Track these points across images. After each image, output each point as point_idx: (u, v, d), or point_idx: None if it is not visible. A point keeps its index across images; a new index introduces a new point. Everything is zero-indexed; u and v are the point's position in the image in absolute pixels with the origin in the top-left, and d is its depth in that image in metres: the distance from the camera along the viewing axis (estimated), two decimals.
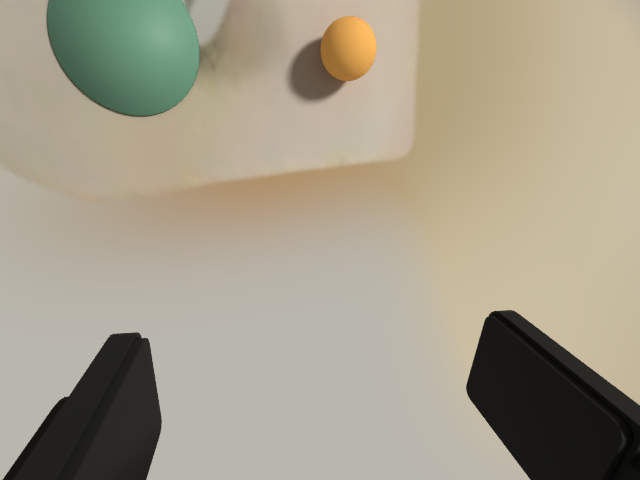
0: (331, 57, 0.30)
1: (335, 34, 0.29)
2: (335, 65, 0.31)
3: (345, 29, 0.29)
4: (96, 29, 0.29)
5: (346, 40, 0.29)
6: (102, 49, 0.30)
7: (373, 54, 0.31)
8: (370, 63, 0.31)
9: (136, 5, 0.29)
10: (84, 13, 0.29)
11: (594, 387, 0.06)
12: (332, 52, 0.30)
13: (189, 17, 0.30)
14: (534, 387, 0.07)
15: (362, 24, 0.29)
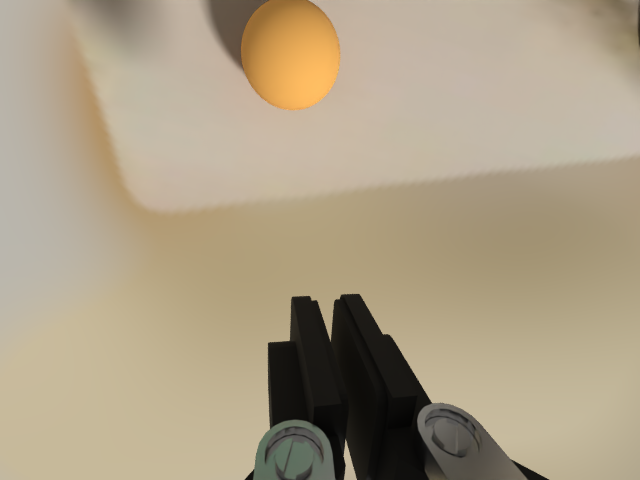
0: (273, 4, 0.16)
1: (311, 10, 0.16)
2: (260, 13, 0.16)
3: (319, 28, 0.16)
4: None
5: (301, 27, 0.15)
6: None
7: (285, 95, 0.17)
8: (270, 92, 0.17)
9: None
10: None
11: (378, 360, 0.07)
12: (281, 4, 0.15)
13: None
14: (349, 364, 0.08)
15: (329, 67, 0.17)
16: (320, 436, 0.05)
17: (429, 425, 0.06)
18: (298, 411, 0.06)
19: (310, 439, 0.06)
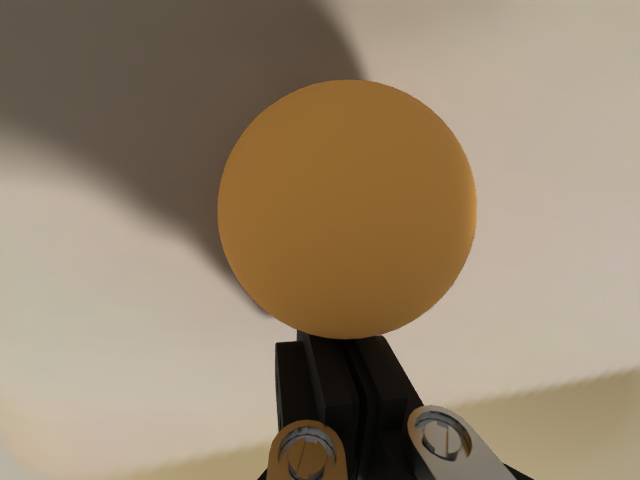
0: (305, 87, 0.06)
1: (408, 95, 0.06)
2: (270, 108, 0.06)
3: (439, 129, 0.05)
4: None
5: (393, 121, 0.05)
6: None
7: (335, 313, 0.05)
8: (289, 303, 0.05)
9: None
10: None
11: (369, 362, 0.07)
12: (328, 83, 0.06)
13: None
14: None
15: (468, 227, 0.05)
16: (332, 436, 0.05)
17: (419, 428, 0.06)
18: (308, 411, 0.06)
19: (322, 439, 0.06)
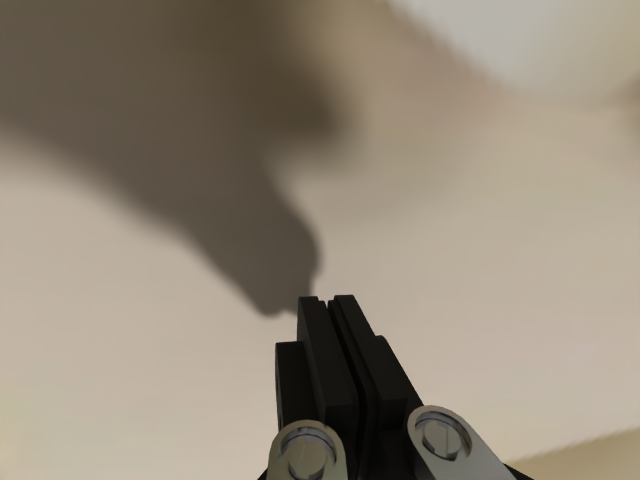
0: None
1: None
2: None
3: None
4: None
5: None
6: None
7: None
8: None
9: None
10: None
11: (369, 362, 0.07)
12: None
13: None
14: None
15: None
16: (332, 436, 0.05)
17: (420, 428, 0.06)
18: (308, 411, 0.06)
19: (322, 439, 0.06)
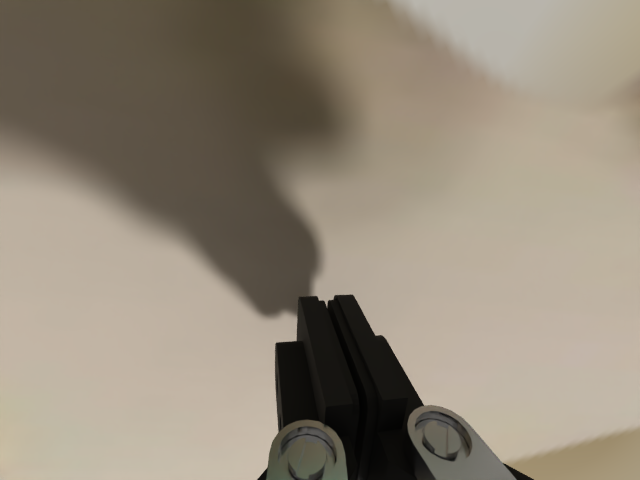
0: None
1: None
2: None
3: None
4: None
5: None
6: None
7: None
8: None
9: None
10: None
11: (369, 362, 0.07)
12: None
13: None
14: None
15: None
16: (332, 436, 0.05)
17: (420, 428, 0.06)
18: (308, 411, 0.06)
19: (322, 439, 0.06)
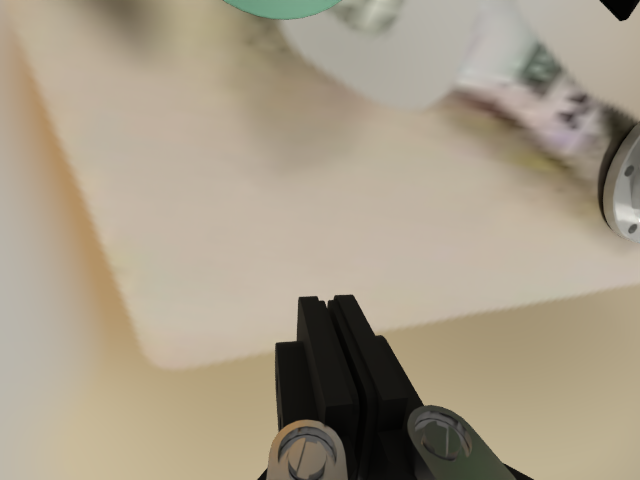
0: None
1: None
2: None
3: None
4: None
5: None
6: None
7: None
8: None
9: None
10: None
11: (369, 362, 0.07)
12: None
13: (319, 8, 0.18)
14: None
15: None
16: (332, 436, 0.05)
17: (420, 428, 0.06)
18: (308, 411, 0.06)
19: (322, 439, 0.06)
